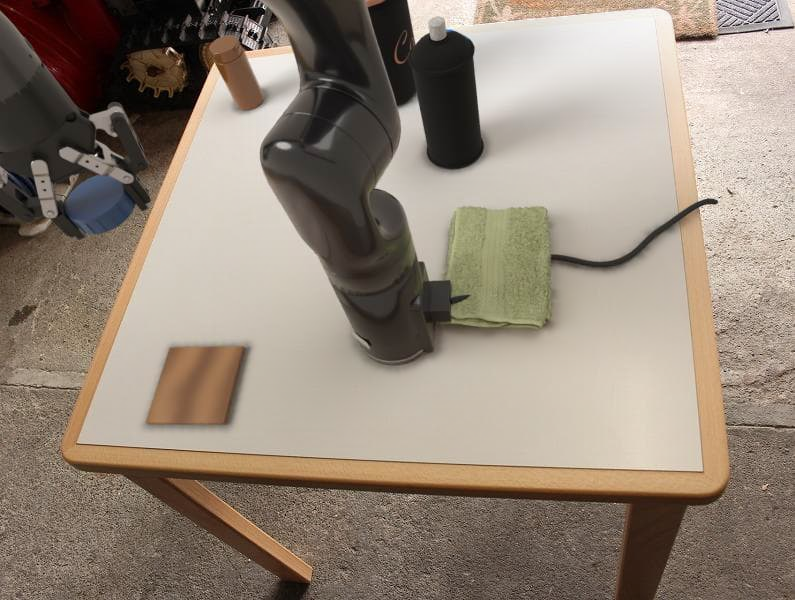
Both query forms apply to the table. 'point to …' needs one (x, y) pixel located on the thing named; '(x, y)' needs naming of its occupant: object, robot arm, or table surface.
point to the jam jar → (237, 72)
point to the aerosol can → (447, 95)
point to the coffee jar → (394, 44)
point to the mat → (196, 386)
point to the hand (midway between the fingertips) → (113, 218)
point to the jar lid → (99, 205)
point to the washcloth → (500, 267)
